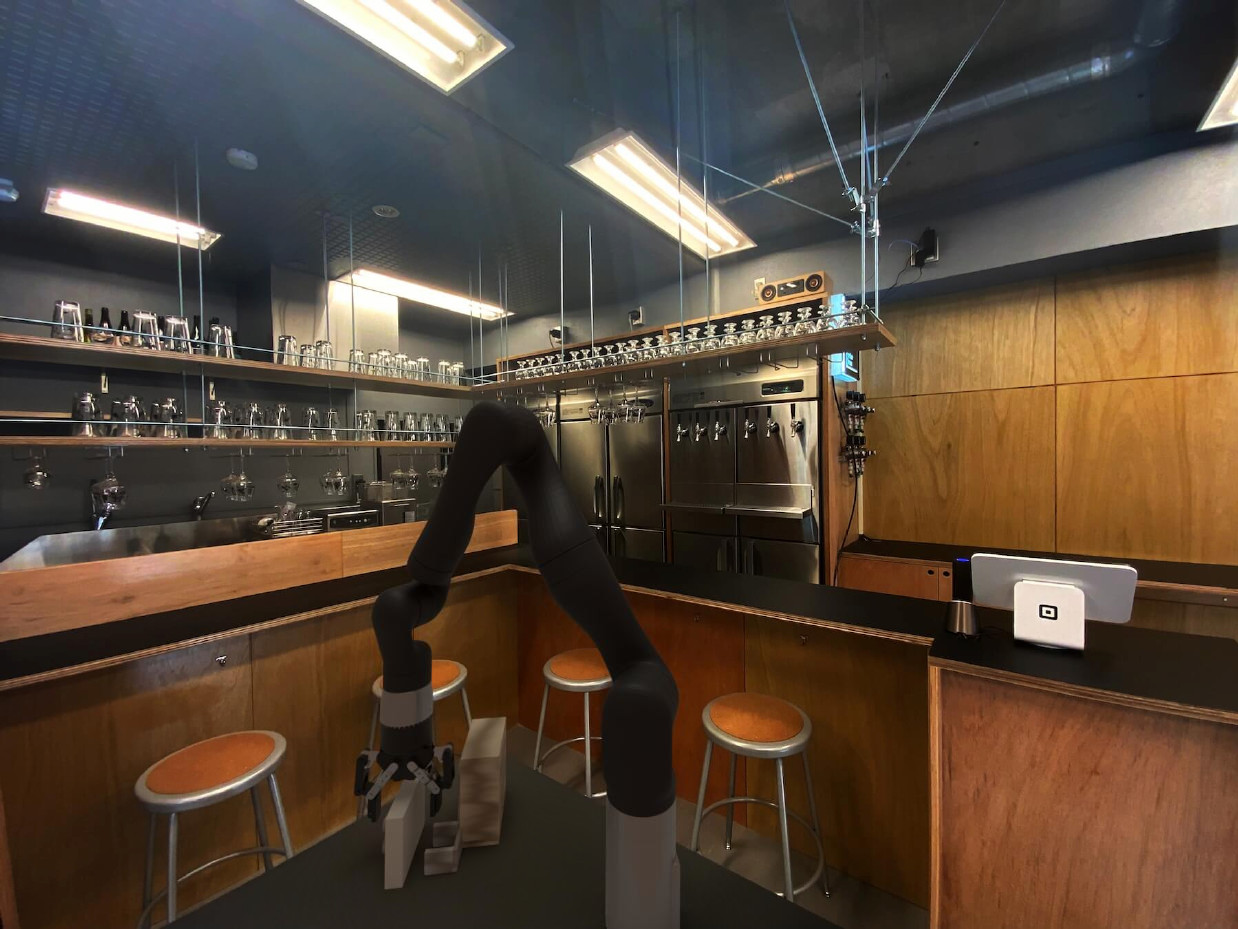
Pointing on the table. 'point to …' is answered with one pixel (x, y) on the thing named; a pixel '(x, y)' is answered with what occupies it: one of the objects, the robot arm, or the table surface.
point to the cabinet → (474, 797)
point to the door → (403, 831)
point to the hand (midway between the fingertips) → (405, 816)
